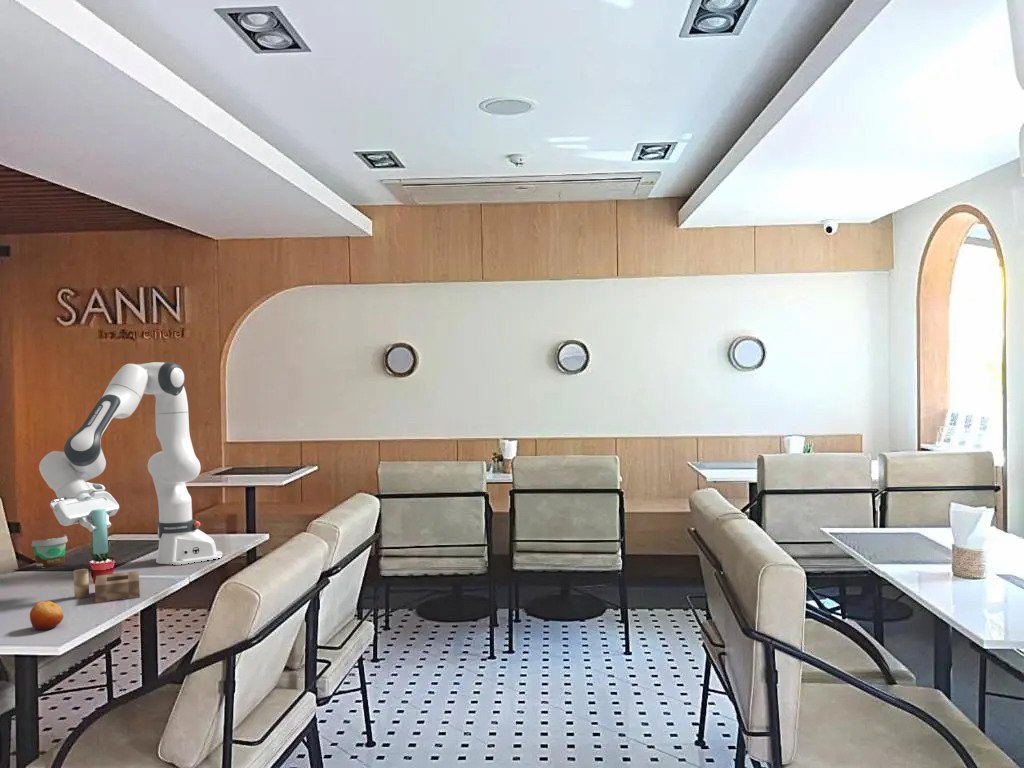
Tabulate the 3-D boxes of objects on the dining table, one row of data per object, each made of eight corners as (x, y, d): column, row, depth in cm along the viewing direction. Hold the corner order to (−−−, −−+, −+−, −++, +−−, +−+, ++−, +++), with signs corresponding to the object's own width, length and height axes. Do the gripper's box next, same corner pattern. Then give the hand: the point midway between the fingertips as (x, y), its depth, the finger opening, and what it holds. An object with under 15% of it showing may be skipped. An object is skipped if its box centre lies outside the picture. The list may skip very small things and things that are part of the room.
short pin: (89, 594, 269) (88, 568, 268) (89, 597, 265) (87, 571, 265) (74, 596, 267) (73, 569, 267) (74, 599, 263) (73, 572, 263)
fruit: (30, 619, 237) (45, 593, 238) (57, 632, 238) (72, 607, 238) (16, 628, 229) (32, 601, 230) (44, 642, 230) (59, 615, 230)
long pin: (108, 550, 271) (106, 508, 270) (107, 553, 267) (105, 510, 267) (93, 552, 269) (91, 509, 269) (93, 554, 266) (91, 511, 265)
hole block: (139, 587, 276) (138, 571, 276) (139, 597, 263) (139, 580, 263) (96, 592, 271) (96, 575, 271) (95, 602, 258) (94, 585, 258)
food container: (42, 570, 304) (41, 541, 304) (32, 568, 307) (31, 540, 307) (76, 563, 315) (74, 535, 314) (66, 561, 318) (65, 534, 318)
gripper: (52, 493, 261) (78, 528, 257) (107, 483, 280) (132, 515, 276) (41, 508, 262) (67, 542, 259) (97, 497, 281) (122, 529, 278)
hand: (101, 528), depth 268 cm, fingers closed on long pin, 4 cm apart
